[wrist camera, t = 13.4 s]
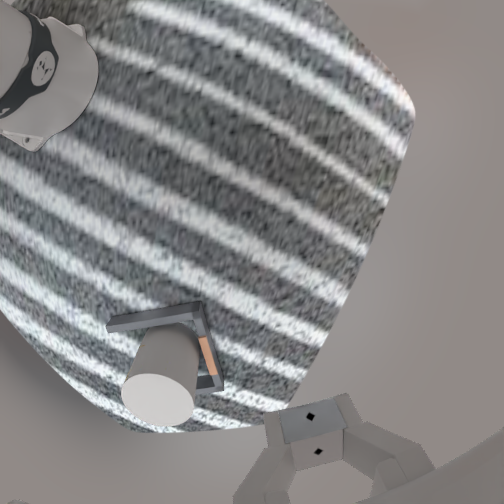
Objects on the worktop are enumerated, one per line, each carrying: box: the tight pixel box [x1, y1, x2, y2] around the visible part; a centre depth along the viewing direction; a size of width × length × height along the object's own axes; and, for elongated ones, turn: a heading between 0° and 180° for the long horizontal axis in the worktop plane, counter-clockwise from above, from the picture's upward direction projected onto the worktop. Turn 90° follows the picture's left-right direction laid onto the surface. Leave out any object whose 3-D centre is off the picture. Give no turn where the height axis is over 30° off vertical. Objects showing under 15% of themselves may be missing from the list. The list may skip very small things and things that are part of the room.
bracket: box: [106, 301, 224, 395], centre depth 39 cm, size 13×13×4 cm
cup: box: [121, 322, 200, 426], centre depth 35 cm, size 8×8×12 cm
